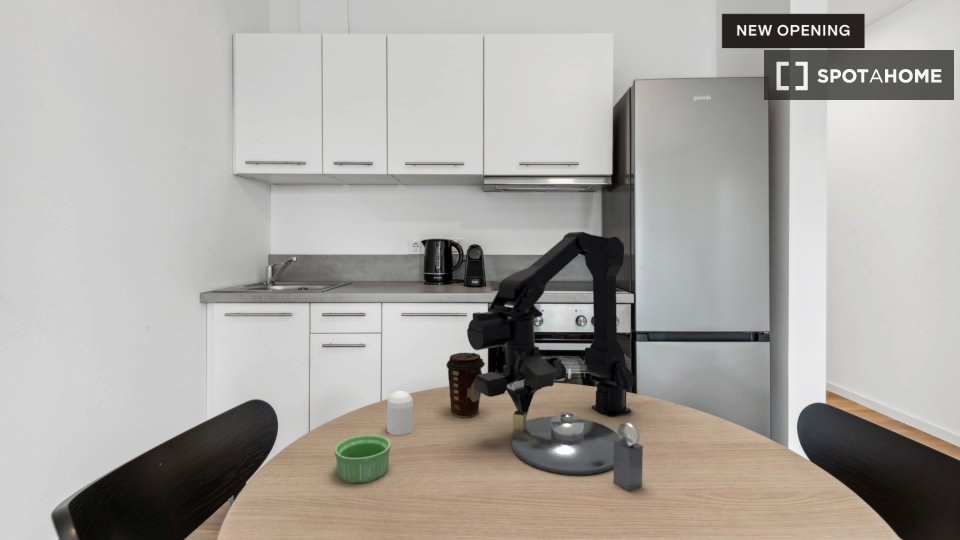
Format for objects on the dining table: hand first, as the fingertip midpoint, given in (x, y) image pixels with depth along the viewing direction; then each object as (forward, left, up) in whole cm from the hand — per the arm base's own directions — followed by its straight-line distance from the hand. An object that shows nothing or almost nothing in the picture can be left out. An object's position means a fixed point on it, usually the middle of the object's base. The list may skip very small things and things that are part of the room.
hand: (523, 419), depth 87 cm
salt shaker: (+20, -14, -4) cm, 25 cm away
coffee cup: (+4, -16, -4) cm, 17 cm away
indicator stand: (-4, +23, -3) cm, 24 cm away
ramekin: (+31, -1, -4) cm, 32 cm away
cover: (-4, +9, -1) cm, 10 cm away
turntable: (-4, +9, -3) cm, 10 cm away
